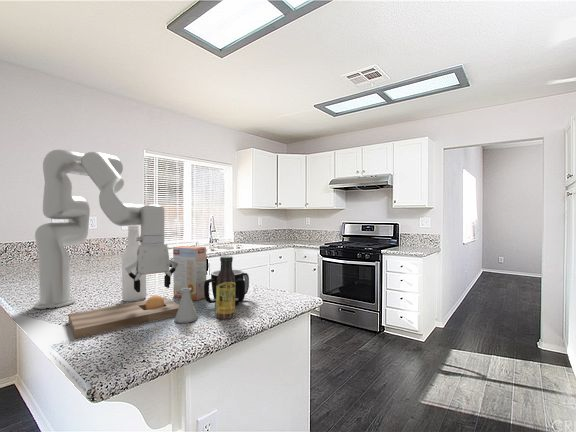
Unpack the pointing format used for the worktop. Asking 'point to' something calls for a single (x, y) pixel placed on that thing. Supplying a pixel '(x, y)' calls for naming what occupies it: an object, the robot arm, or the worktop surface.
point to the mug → (240, 286)
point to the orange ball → (154, 302)
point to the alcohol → (128, 259)
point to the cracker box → (190, 270)
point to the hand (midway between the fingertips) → (152, 289)
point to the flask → (186, 308)
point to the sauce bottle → (225, 289)
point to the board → (118, 317)
